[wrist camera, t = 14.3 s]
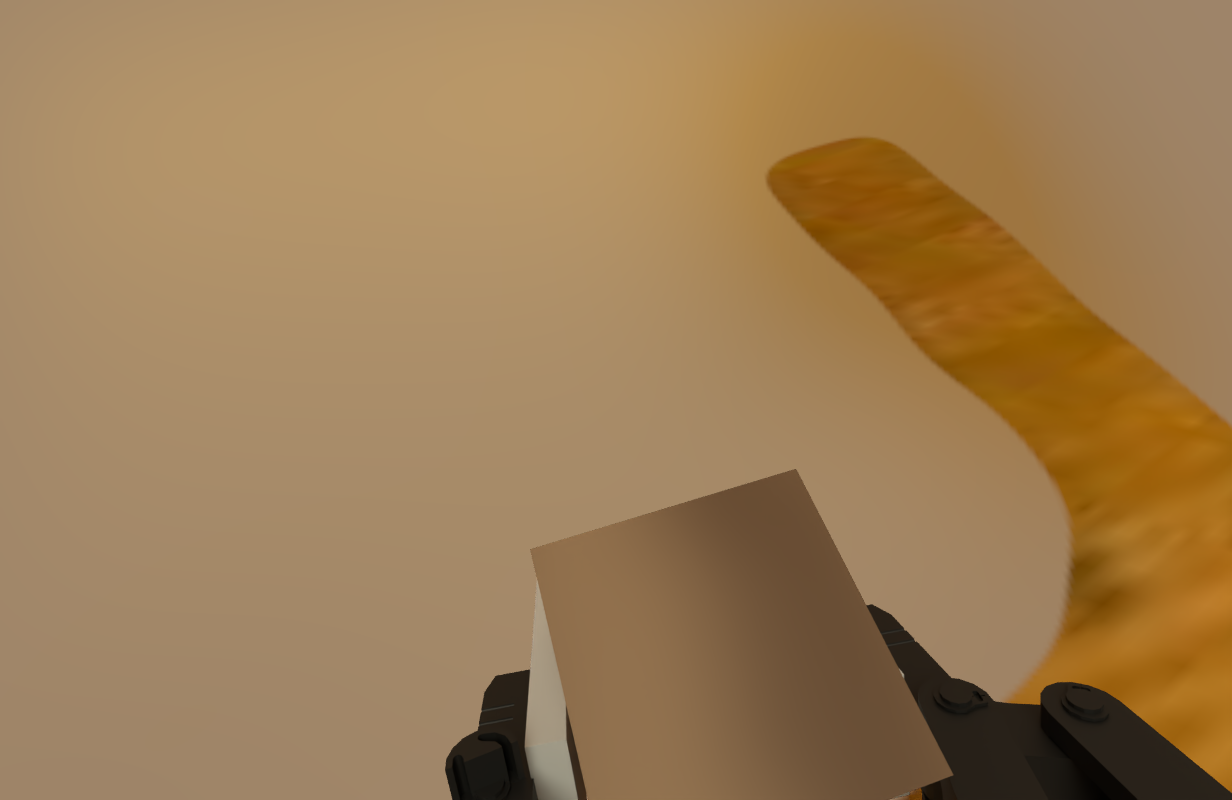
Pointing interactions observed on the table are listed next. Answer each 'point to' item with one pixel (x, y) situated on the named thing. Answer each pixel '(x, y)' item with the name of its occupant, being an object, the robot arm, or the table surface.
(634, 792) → the walnut block
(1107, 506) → the table surface
